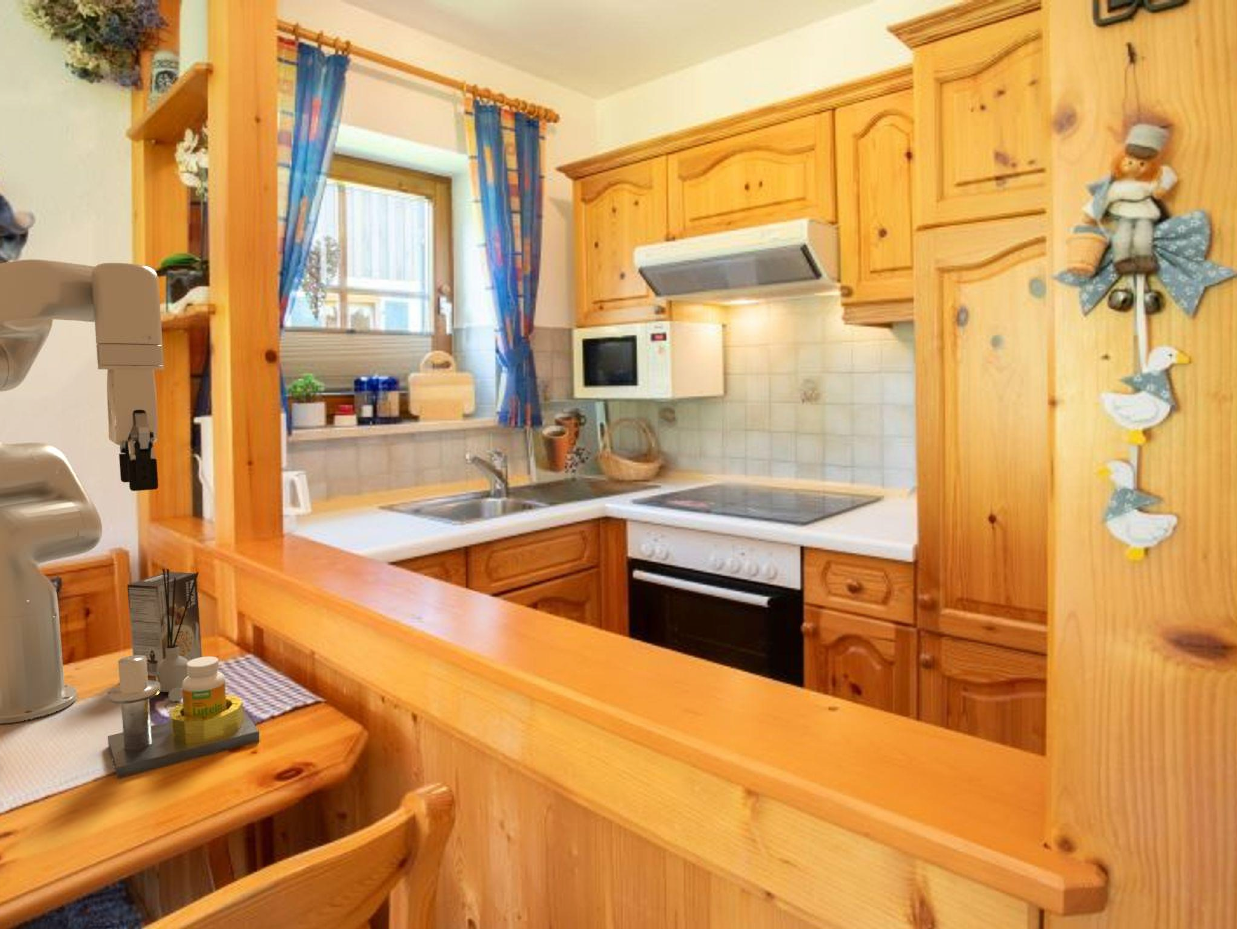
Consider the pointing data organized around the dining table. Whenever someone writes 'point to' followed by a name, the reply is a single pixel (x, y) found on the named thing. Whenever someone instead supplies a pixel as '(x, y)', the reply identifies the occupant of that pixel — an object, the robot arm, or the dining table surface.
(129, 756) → the grey peg stand
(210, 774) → the dining table surface
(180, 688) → the reed diffuser
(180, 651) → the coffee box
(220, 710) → the supplement bottle
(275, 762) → the dining table surface
